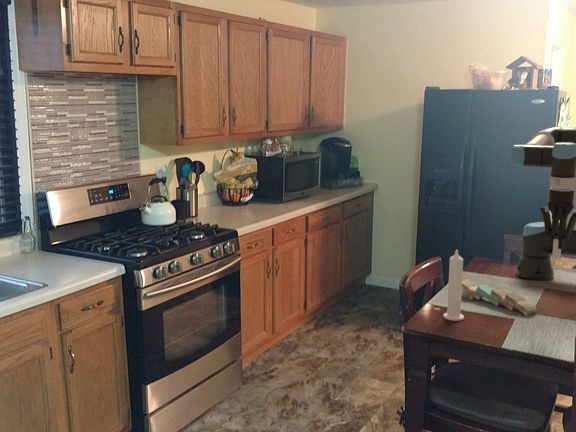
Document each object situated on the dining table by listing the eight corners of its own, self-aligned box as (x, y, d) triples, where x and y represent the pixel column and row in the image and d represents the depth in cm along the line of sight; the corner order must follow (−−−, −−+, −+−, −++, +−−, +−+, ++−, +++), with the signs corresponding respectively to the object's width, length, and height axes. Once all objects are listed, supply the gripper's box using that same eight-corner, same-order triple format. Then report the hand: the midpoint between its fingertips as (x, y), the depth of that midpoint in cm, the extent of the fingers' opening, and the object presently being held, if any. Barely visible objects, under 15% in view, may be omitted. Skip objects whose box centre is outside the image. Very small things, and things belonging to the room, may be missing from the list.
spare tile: (496, 306, 219) (475, 290, 225) (504, 303, 222) (483, 288, 228) (498, 301, 218) (477, 286, 224) (506, 298, 221) (485, 283, 227)
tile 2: (511, 310, 214) (489, 294, 221) (519, 307, 217) (497, 292, 224) (513, 305, 213) (492, 289, 220) (521, 303, 216) (499, 287, 223)
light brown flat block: (472, 300, 227) (450, 294, 235) (479, 297, 230) (458, 291, 238) (472, 295, 227) (450, 288, 234) (480, 292, 230) (458, 286, 237)
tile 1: (526, 315, 209) (504, 299, 216) (534, 312, 212) (512, 296, 219) (528, 310, 208) (506, 294, 215) (536, 307, 211) (514, 291, 218)
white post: (453, 322, 204) (456, 252, 199) (439, 316, 210) (442, 248, 205) (468, 318, 207) (471, 250, 202) (454, 312, 213) (457, 245, 208)
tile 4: (478, 299, 224) (457, 285, 231) (485, 296, 228) (463, 282, 234) (480, 295, 223) (458, 281, 230) (487, 292, 227) (465, 278, 233)
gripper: (537, 188, 199) (532, 255, 203) (575, 193, 188) (569, 263, 193) (549, 185, 203) (544, 251, 208) (587, 190, 193) (580, 259, 198)
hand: (556, 257), depth 201 cm, fingers closed
